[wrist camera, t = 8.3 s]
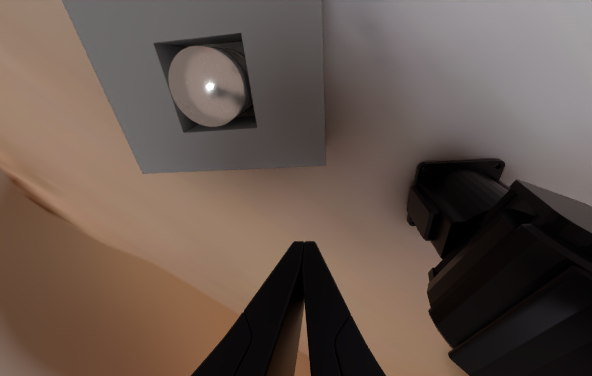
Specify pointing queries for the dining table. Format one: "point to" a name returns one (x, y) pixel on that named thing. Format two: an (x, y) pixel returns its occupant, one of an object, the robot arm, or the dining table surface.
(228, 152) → the press block
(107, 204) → the dining table surface
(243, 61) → the grey rounded piece
